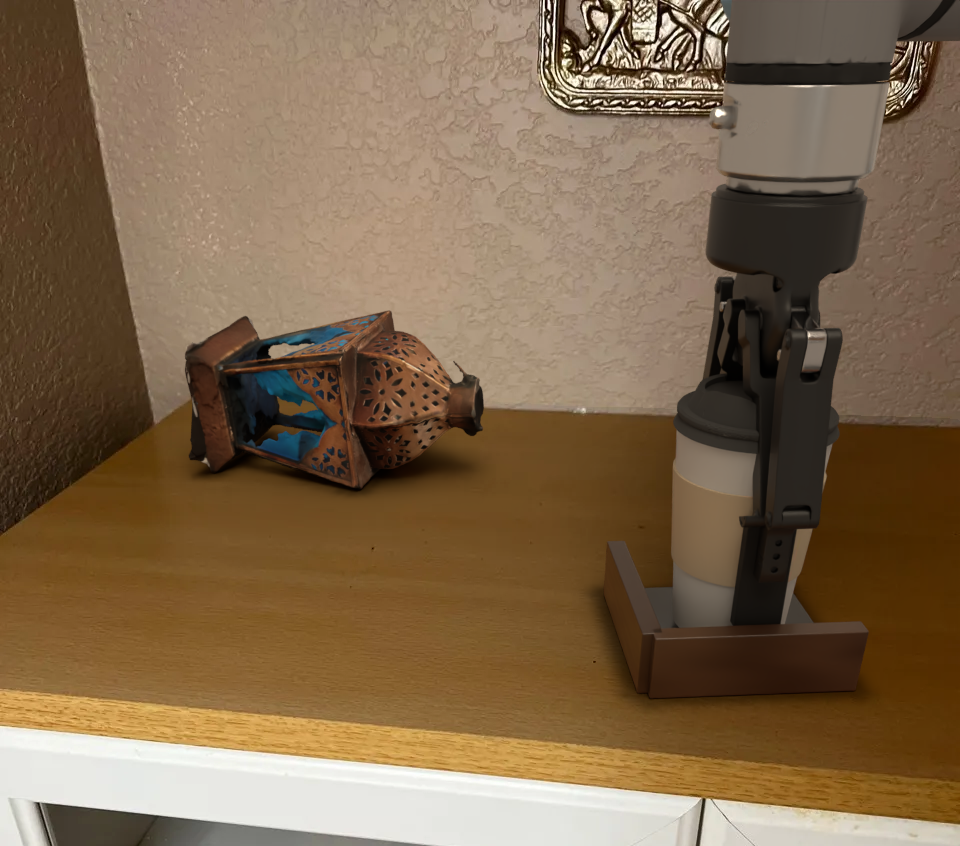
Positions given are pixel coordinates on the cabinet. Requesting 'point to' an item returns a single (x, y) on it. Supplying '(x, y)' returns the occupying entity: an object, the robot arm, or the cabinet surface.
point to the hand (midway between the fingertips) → (732, 585)
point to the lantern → (325, 398)
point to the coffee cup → (717, 500)
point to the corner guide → (724, 645)
